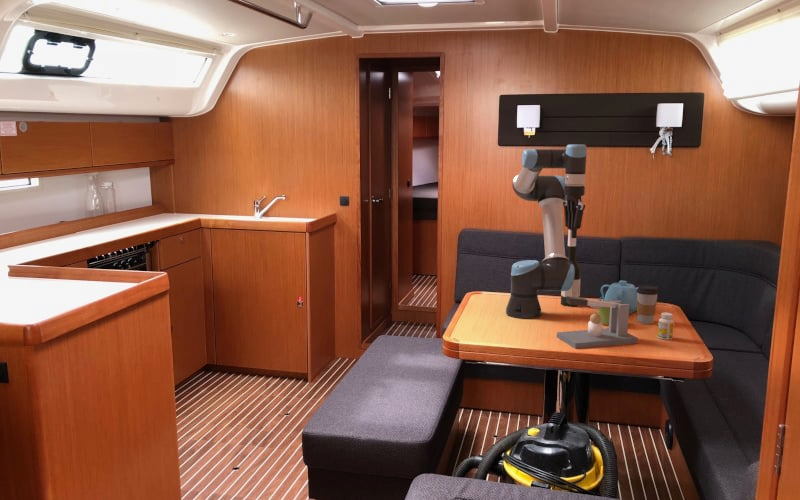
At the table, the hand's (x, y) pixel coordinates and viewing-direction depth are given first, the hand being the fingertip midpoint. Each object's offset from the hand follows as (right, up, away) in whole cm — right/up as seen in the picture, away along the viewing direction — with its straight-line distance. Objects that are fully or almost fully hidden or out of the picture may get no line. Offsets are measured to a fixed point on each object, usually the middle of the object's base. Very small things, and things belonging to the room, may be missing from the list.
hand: (571, 246), depth 249 cm
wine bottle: (+12, -27, +47) cm, 56 cm away
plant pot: (+19, -32, +17) cm, 41 cm away
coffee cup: (+36, -32, +19) cm, 52 cm away
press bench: (+8, -36, -5) cm, 37 cm away
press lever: (+6, -23, -8) cm, 25 cm away
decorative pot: (+32, -29, +37) cm, 57 cm away
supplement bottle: (+35, -36, -3) cm, 50 cm away
